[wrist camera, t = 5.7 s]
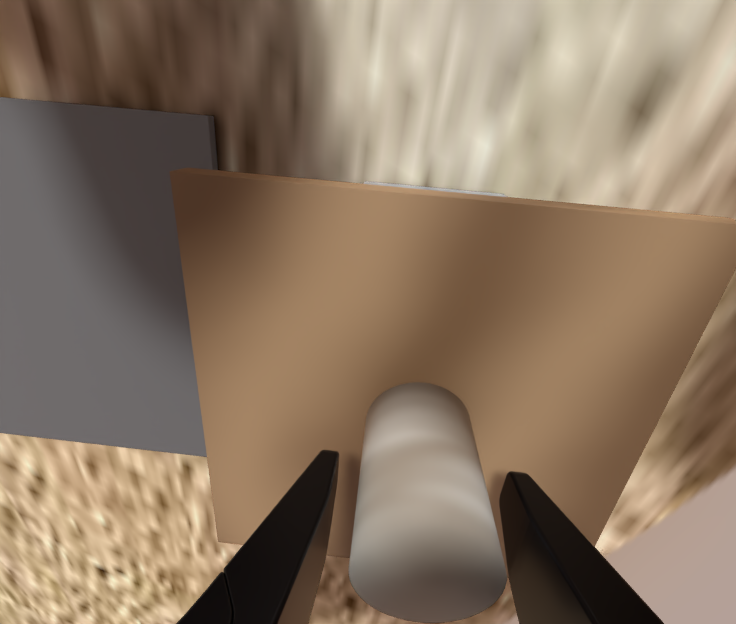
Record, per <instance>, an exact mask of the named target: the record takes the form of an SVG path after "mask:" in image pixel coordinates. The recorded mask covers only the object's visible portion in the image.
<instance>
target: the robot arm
mask: <svg viewBox="0 0 736 624" xmlns="http://www.w3.org/2000/svg"><path fill="white" fill-rule="evenodd" d="M338 468H339V452H338V451H333V450H321V451H320V452H319V453H318V455H317V456H316V457H315V458H314V460H313V461H312V462H311V463H310V464H309V466H308V467H307V468H306V469H305V470H304V472H303V473H302V474H301V475H300V477H299V478H298V479H297V480H296V481H295V483H294V484H293V485H292V486H291V488H290V489H289V490H288V491H287V492H286V494H285V495H284V496H283V497H282V498H281V500H280V501H279V502H278V503H277V505H276V506H275V507H274V508H273V509H272V511H271V512H270V513H269V514H268V516H267V517H266V518H265V519H264V520H263V522H262V523H261V524H260V525H259V526H258V528H257V529H256V530H255V531H254V533H253V534H252V535H251V536H250V537H249V539H248V540H247V541H246V542H245V544H244V545H243V546H242V547H241V548H240V550H239V551H238V552H237V553H236V554H235V556H234V557H233V558H232V559H231V561H230V562H229V563H228V564H227V565H226V567H225V568H224V573H223V572H221V573H220V574H219V575H218V576H217V577H216V579H215V580H214V581H213V582H212V583H211V585H210V586H209V587H208V588H207V590H206V591H205V592H204V593H203V594H202V595H201V596H200V598H199V599H198V600H197V601H196V602H195V603H194V605H193V606H192V607H191V608H190V609H189V610H188V611H187V613H186V614H185V615H184V616H183V617H182V618H181V619H180V620H179V621H178V622H177V623H176V624H308V623H309V620H310V616H311V612H312V608H313V604H314V601H315V597H316V593H317V589H318V586H319V582H320V578H321V574H322V570H323V567H324V563H325V558H326V554H327V549H328V543H329V536H330V530H331V523H332V516H333V509H334V503H335V496H336V489H337V482H338ZM499 507H500V515H501V523H502V531H503V538H504V546H505V554H506V562H507V569H508V575H509V581H510V585H511V590H512V594H513V599H514V603H515V607H516V611H517V616H518V620H519V624H664V623H663V622H662V621H661V620H660V618H659V617H658V616H657V615H656V614H655V613H654V612H653V611H652V610H651V609H650V607H649V606H648V605H647V604H646V603H645V602H644V601H643V600H642V599H641V598H640V596H639V595H637V593H636V592H635V591H634V590H633V589H632V588H631V587H630V585H629V584H628V583H627V582H626V581H625V580H624V579H623V578H622V577H621V576H620V575H619V573H618V572H617V571H616V570H615V569H614V568H613V567H612V566H611V565H610V563H609V562H608V561H607V560H606V559H605V558H604V557H603V556H602V555H601V554H600V552H599V551H598V550H597V549H596V548H595V547H594V546H593V545H592V544H591V543H590V541H589V540H588V539H587V538H586V537H585V536H584V535H583V534H582V533H581V532H580V530H579V529H578V528H577V527H576V526H575V525H574V524H573V523H572V522H571V521H570V519H569V518H568V517H567V516H566V515H565V514H564V513H563V512H562V511H561V510H560V508H559V507H558V506H557V505H556V504H555V503H554V502H553V501H552V500H551V499H550V497H549V496H548V495H547V494H546V493H545V492H544V491H543V490H542V489H541V488H540V486H539V485H538V484H537V483H536V482H535V481H534V480H533V479H532V478H531V477H530V476H529V475H528V474H527V473H524V472H515V471H509V472H508V473H507V475H506V478H505V481H504V484H503V487H502V490H501V493H500V498H499Z"/></svg>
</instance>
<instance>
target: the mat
mask: <svg viewBox="0 0 736 624" xmlns="http://www.w3.org/2000/svg"><path fill="white" fill-rule="evenodd" d="M183 168H198V169H209V170H218V164H217V152H216V140H215V127H214V116H207V115H196V114H185V113H173V112H162V111H151V110H140V109H128V108H117V107H106V106H94V105H83V104H72V103H61V102H49V101H38V100H27V99H15V98H4V97H0V433H6V434H15V435H23V436H32V437H40V438H49V439H58V440H66V441H75V442H83V443H92V444H100V445H109V446H118V447H126V448H135V449H143V450H152V451H161V452H169V453H178V454H186V455H195V456H204V457H207V453H206V446H205V438H204V430H203V423H202V415H201V408H200V400H199V392H198V385H197V377H196V370H195V362H194V354H193V347H192V339H191V332H190V324H189V317H188V309H187V301H186V294H185V286H184V279H183V271H182V263H181V256H180V248H179V241H178V233H177V225H176V218H175V210H174V203H173V195H172V187H171V180H170V172H169V171H174V170H178V169H183Z"/></svg>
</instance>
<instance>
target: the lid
mask: <svg viewBox="0 0 736 624" xmlns="http://www.w3.org/2000/svg"><path fill="white" fill-rule="evenodd" d="M169 172H170V180H171V187H172V195H173V203H174V210H175V218H176V225H177V233H178V241H179V248H180V256H181V263H182V271H183V279H184V286H185V294H186V301H187V309H188V317H189V324H190V332H191V339H192V347H193V354H194V362H195V370H196V377H197V385H198V392H199V400H200V408H201V415H202V423H203V430H204V438H205V446H206V453H207V461H208V468H209V476H210V484H211V491H212V499H213V506H214V514H215V522H216V529H217V537H218V542H223V543H231V544H239V545H244V544H245V542H246V541H247V540H248V539H249V537H250V536H251V535H252V534H253V533H254V531H255V530H256V529H257V528H258V526H259V525H260V524H261V523H262V522H263V520H264V519H265V518H266V517H267V516H268V514H269V513H270V512H271V511H272V509H273V508H274V507H275V506H276V505H277V503H278V502H279V501H280V500H281V498H282V497H283V496H284V495H285V494H286V492H287V491H288V490H289V489H290V488H291V486H292V485H293V484H294V483H295V481H296V480H297V479H298V478H299V477H300V475H301V474H302V473H303V472H304V470H305V469H306V468H307V467H308V466H309V464H310V463H311V462H312V461H313V460H314V458H315V457H316V456H317V455H318V453H319V452H320V451H321V450H333V451H338V452H339V468H338V482H337V489H336V496H335V503H334V509H333V516H332V523H331V530H330V536H329V543H328V549H327V554H326V555H328V556H336V557H344V558H350V562H349V578H350V582H351V584H352V586H353V588H354V590H355V591H356V593H357V594H358V595H359V596H360V597H361V598H362V599H363V600H364V601H365V602H366V603H367V604H369V605H370V606H372V607H373V608H375V609H377V610H379V611H380V612H383V613H385V614H387V615H390V616H393V617H396V618H399V619H403V620H407V621H414V622H422V623H442V622H451V621H456V620H461V619H465V618H468V617H471V616H473V615H476V614H478V613H480V612H482V611H484V610H486V609H487V608H488V607H490V606H491V605H492V604H494V603H495V602H496V601H497V600H498V598H499V597H500V596H501V594H502V593H503V591H504V589H505V585H506V581H507V578H509V575H508V569H507V562H506V554H505V546H504V538H503V531H502V523H501V515H500V507H499V498H500V493H501V490H502V487H503V484H504V481H505V478H506V475H507V473H508V472H509V471H515V472H524V473H527V474H528V475H529V476H530V477H531V478H532V479H533V480H534V481H535V482H536V483H537V484H538V485H539V486H540V488H541V489H542V490H543V491H544V492H545V493H546V494H547V495H548V496H549V497H550V499H551V500H552V501H553V502H554V503H555V504H556V505H557V506H558V507H559V508H560V510H561V511H562V512H563V513H564V514H565V515H566V516H567V517H568V518H569V519H570V521H571V522H572V523H573V524H574V525H575V526H576V527H577V528H578V529H579V530H580V532H581V533H582V534H583V535H584V536H585V537H586V538H587V539H588V540H589V541H590V543H591V544H592V545H593V546H595V545H596V543H597V541H598V539H599V537H600V535H601V533H602V531H603V529H604V527H605V525H606V523H607V521H608V519H609V517H610V515H611V513H612V511H613V509H614V507H615V505H616V503H617V501H618V499H619V497H620V495H621V493H622V491H623V489H624V488H625V486H626V484H627V482H628V480H629V478H630V476H631V474H632V472H633V470H634V468H635V466H636V464H637V462H638V460H639V458H640V456H641V454H642V452H643V450H644V448H645V446H646V444H647V442H648V440H649V438H650V436H651V434H652V432H653V431H654V429H655V427H656V425H657V423H658V421H659V419H660V417H661V415H662V413H663V411H664V409H665V407H666V405H667V403H668V401H669V399H670V397H671V395H672V393H673V391H674V389H675V387H676V385H677V383H678V381H679V379H680V377H681V375H682V374H683V372H684V370H685V368H686V366H687V364H688V362H689V360H690V358H691V356H692V354H693V352H694V350H695V348H696V346H697V344H698V342H699V340H700V338H701V336H702V334H703V332H704V330H705V328H706V326H707V324H708V322H709V320H710V319H711V317H712V315H713V313H714V311H715V309H716V307H717V305H718V303H719V301H720V299H721V297H722V295H723V293H724V291H725V289H726V287H727V285H728V283H729V281H730V279H731V277H732V275H733V273H734V271H735V269H736V220H734V219H731V218H726V217H715V216H705V215H694V214H683V213H672V212H662V211H651V210H640V209H629V208H618V207H608V206H597V205H586V204H575V203H565V202H554V201H543V200H532V199H522V198H511V197H500V196H489V195H478V194H468V193H457V192H446V191H435V190H425V189H414V188H403V187H392V186H381V185H371V184H360V183H349V182H338V181H328V180H317V179H306V178H295V177H284V176H274V175H263V174H252V173H241V172H231V171H220V170H209V169H198V168H183V169H178V170H174V171H169Z"/></svg>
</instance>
